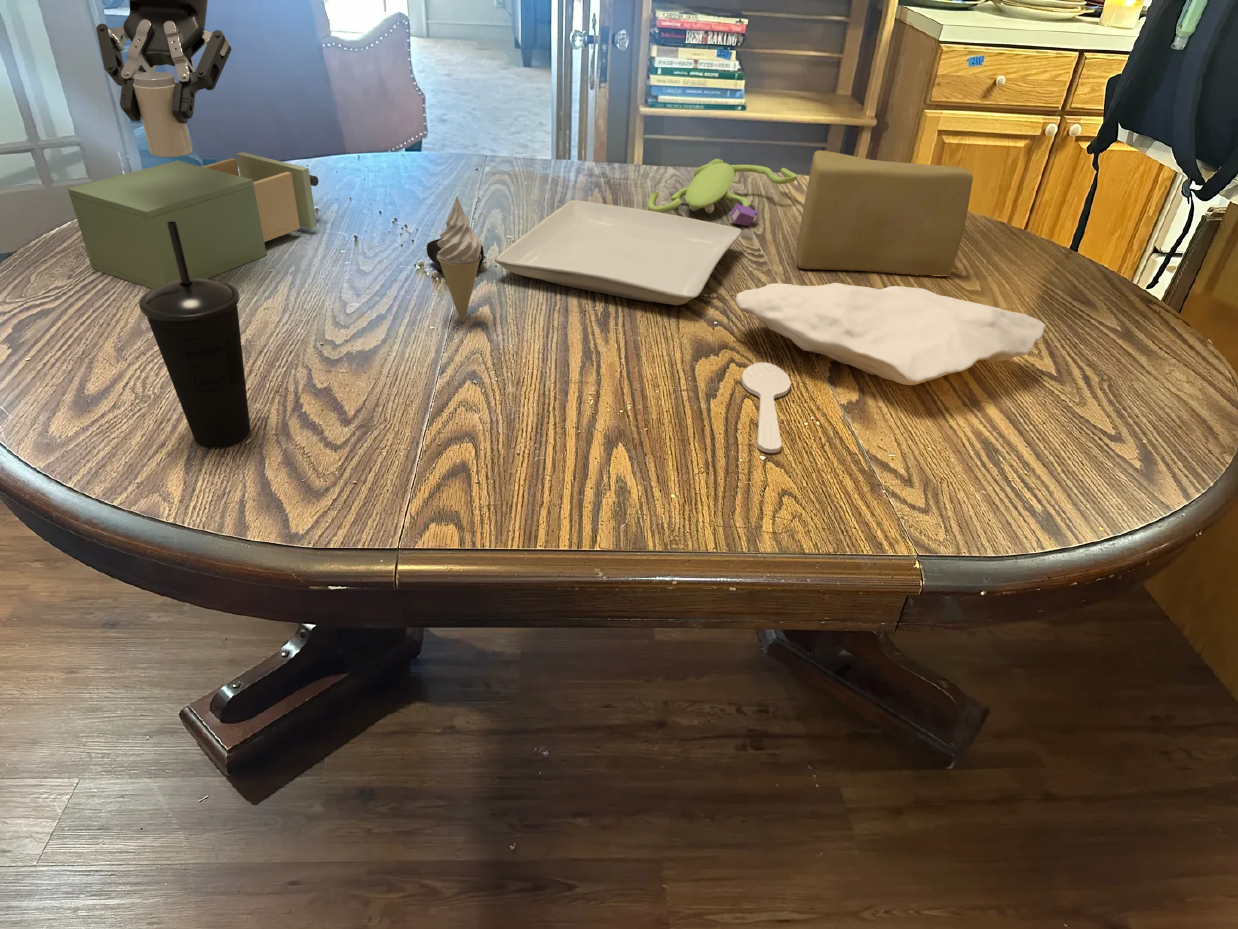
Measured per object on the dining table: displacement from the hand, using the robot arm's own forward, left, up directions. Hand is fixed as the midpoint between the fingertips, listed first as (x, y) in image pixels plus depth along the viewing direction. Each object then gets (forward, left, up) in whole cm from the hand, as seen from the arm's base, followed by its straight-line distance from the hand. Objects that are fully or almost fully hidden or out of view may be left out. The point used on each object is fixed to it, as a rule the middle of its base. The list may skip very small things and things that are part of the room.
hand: (156, 117), depth 92 cm
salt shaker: (-1, +2, -4) cm, 4 cm away
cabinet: (-9, +5, -20) cm, 23 cm away
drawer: (-9, +18, -19) cm, 28 cm away
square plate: (+39, +38, -20) cm, 58 cm away
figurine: (+40, +73, -20) cm, 86 cm away
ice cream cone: (+31, +11, -20) cm, 39 cm away
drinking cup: (+27, -21, -20) cm, 40 cm away
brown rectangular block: (+69, +59, -20) cm, 93 cm away
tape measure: (+21, +23, -20) cm, 37 cm away
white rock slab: (+77, +29, -20) cm, 85 cm away
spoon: (+69, +12, -20) cm, 73 cm away
